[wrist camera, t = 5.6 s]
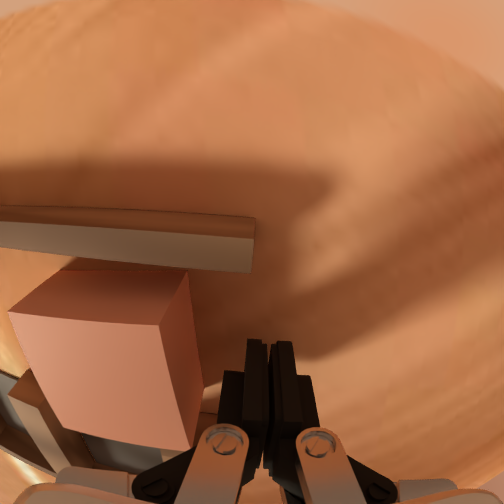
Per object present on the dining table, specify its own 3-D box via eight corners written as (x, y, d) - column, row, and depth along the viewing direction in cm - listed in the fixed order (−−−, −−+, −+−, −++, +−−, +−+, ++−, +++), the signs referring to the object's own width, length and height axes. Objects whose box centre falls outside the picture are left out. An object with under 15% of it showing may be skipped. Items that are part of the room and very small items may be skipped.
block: (204, 385, 14) (191, 451, 10) (94, 374, 14) (63, 427, 10) (188, 268, 12) (158, 325, 8) (61, 268, 12) (7, 311, 8)
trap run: (231, 493, 17) (229, 520, 15) (-39, 400, 17) (-50, 414, 15) (255, 217, 11) (254, 239, 8) (-103, 207, 10) (-123, 216, 8)
